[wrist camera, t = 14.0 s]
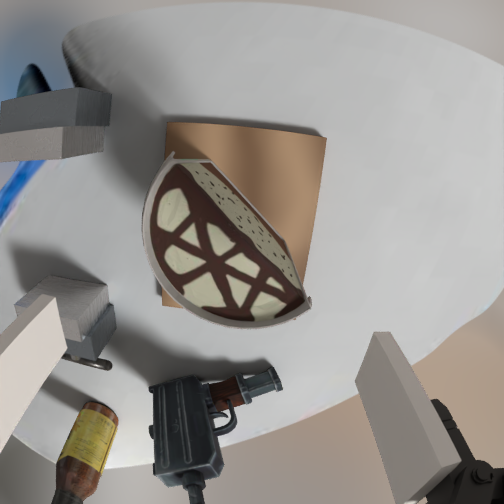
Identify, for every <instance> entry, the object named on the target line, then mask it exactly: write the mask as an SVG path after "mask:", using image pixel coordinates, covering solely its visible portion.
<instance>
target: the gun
mask: <svg viewBox="0 0 504 504" xmlns="http://www.w3.org/2000/svg"><path fill="white" fill-rule="evenodd" d="M267 370H268V371H266V372H264V373H261V374H258V375H255V376H252V377H249V378H246V379H244V378H243V375H242V374H241V373H238V374H235V376H234V377H232V378H229V379H227V380H225V381H222V382H218V383H212V384H209V383H207V384H203V385H202V383H201V382H200V381H199V380H198V379H197V378H196V377H195V376H194V375H190V376H187V377H183V378H180V379H176V380H173V381H169V382H165V383H162V384H158V385H154V386H150V387H149V392H150V393H153V425H150V426H149V434H150V436H151V438H152V439H154V458H155V463H153V474H154V475H155V476H156V477H158V478H159V479H160V480H161V481H162V482H163V483H164V484H165V485H166V486H167V487H174V486H179V485H183V488H184V489H185V490H186V491H188V494H189V500H190V504H205V502H204V498H203V492H202V490H203V489H204V488H205V487H206V485H205V480H207V479H212V478H216V477H219V476H220V474H221V471H222V469H223V467H224V462H223V458H222V454H221V450H220V446H219V442H218V437H217V436H220V435H224V434H227V433H229V432H231V431H232V430H233V429H234V428H235V427H236V425H237V418H236V414H235V411H234V407H237V406H240V405H243V404H249V403H251V402H252V399H251V398H253V397H256V396H259V395H262V394H265V393H268V392H270V391H273V390H276V392H278V391H281V390H283V387H282V384H281V381H280V378H279V377H278V375H277V373H276V371H275V369H274V367H272V368H270V369H267ZM227 409H229V411H230V414H231V419H230V421H229V423H228V424H226V425H224V426H222V427H218V428H215V424H214V420H213V419H214V418H218V417H226V418H228V415H226V414H225V413H223V412H221V411H224V410H227Z"/></svg>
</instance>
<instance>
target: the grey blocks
mask: <svg viewBox="0 0 504 504" xmlns="http://www.w3.org/2000/svg"><path fill="white" fill-rule="evenodd" d="M111 99H112V94H109V93H104V92H100V91H95V90H90V89H85V88H80V87H76V88H69V89H62V90H56V91H49V92H44V93H38V94H33V95H28V96H23V97H19V98H14V99H10V100H6V101H2V102H1V110H0V162H11V161H27V160H50V159H65V158H70V157H75V156H80V155H86V154H92V153H97V152H103V141H104V126H109V121H110V110H111ZM42 294H44V295H48V296H53V297H55V298H56V303H57V307H58V312H59V317H60V321H61V325H62V329H63V334H64V337H65V341H66V345H67V350H66V351H65V353H64V354H63V355H62V357H61V358H62V359H65V360H68V361H72V362H76V363H79V364H83V365H87V366H90V367H94V368H98V369H102V370H107V371H109V370H111V369H112V363H111V362H110V361H109V360H105V359H100V358H98V357H99V355H100V354H101V352H102V350H103V349H104V347H105V345H106V344H107V342H108V341H109V339H110V337H111V336H112V334H113V333H114V331H115V330H116V321H115V313H114V305H109V297H108V288H107V285H104V284H98V283H92V282H86V281H80V280H74V279H68V278H63V277H57V276H52V275H48V276H47V277H46V278H45V279H43V280H42V281H41V282H40V283H39V284H37V285H36V286H35V287H34V288H33V289H31V290H30V291H29V292H28V293H27V294H26V295H24V296H23V297H22V298H21V299H20V300H19V301H18V302H16V303H15V304H14V306H15V310H16V313H17V317H19V316H20V315H21V314H22V313H23V312H24V311H25V310H26V309H27V308H28V307H29V306H30V305H31V304H32V303H33V302H34V301H35V300H36V299H37V298H38V297H40V296H41V295H42Z"/></svg>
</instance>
